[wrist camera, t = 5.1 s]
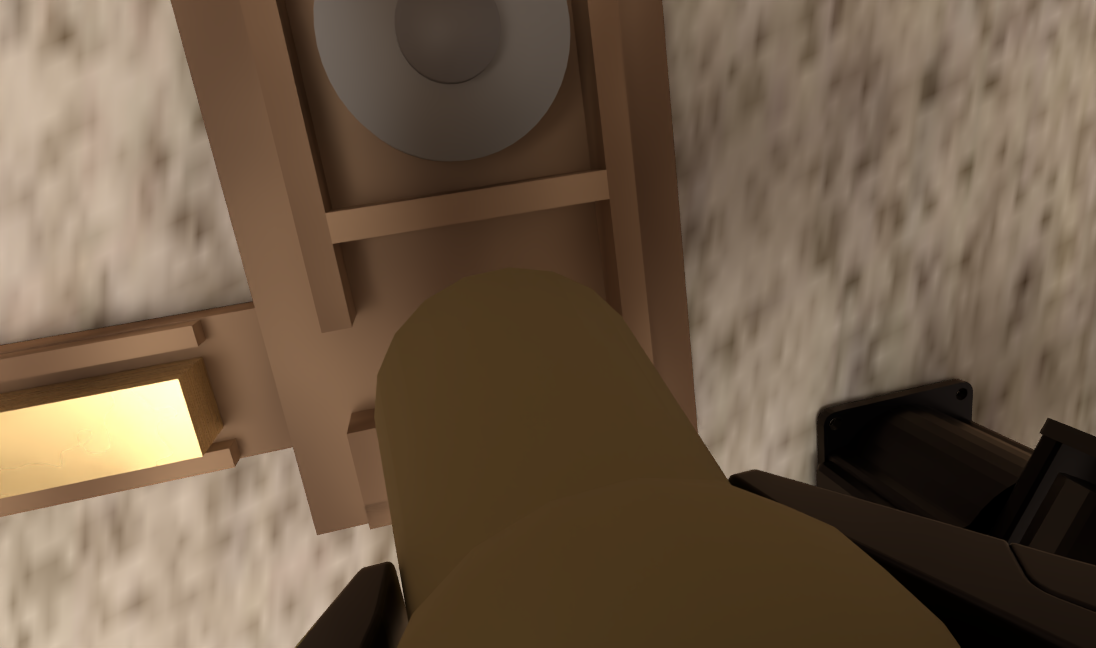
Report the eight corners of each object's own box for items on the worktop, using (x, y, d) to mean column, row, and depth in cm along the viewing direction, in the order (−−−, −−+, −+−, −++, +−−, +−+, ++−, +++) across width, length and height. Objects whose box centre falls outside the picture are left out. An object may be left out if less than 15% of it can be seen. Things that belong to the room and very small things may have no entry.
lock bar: (202, 356, 18) (178, 378, 16) (223, 426, 19) (202, 456, 17) (-33, 399, 17) (-88, 429, 15) (-3, 472, 18) (-52, 509, 16)
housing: (631, -168, 18) (696, -266, 14) (684, 432, 23) (744, 490, 19) (-270, -109, 15) (-538, -216, 11) (26, 582, 20) (-76, 694, 16)
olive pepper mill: (324, 331, 13) (-101, 1043, 2) (598, 224, 13) (1220, 427, 3) (439, 567, 15) (481, 1578, 4) (677, 464, 15) (1246, 1126, 5)
